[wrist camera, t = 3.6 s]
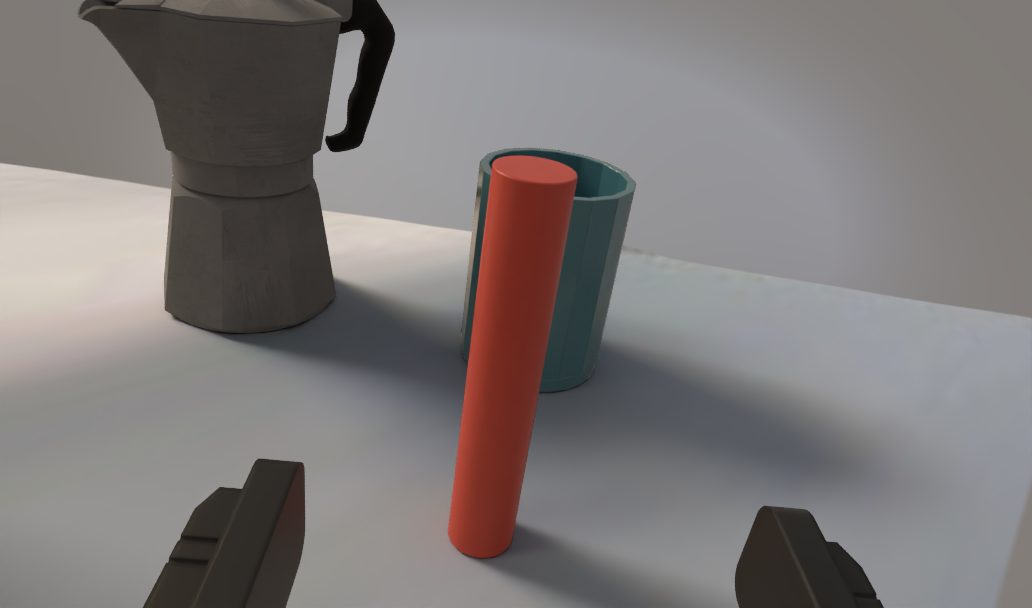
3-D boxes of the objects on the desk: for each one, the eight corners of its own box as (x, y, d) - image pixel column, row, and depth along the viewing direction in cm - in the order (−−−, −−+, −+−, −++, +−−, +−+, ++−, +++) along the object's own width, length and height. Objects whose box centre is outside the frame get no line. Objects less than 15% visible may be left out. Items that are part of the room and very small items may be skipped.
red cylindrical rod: (439, 548, 25) (482, 171, 19) (459, 502, 28) (503, 149, 21) (504, 566, 25) (570, 189, 19) (519, 519, 27) (584, 165, 21)
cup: (442, 372, 35) (461, 178, 30) (481, 307, 41) (502, 139, 37) (585, 407, 34) (628, 212, 30) (603, 336, 40) (640, 166, 36)
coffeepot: (166, 370, 32) (115, -76, 24) (88, 288, 38) (23, -101, 29) (428, 287, 43) (456, -43, 34) (338, 232, 48) (343, -67, 40)
